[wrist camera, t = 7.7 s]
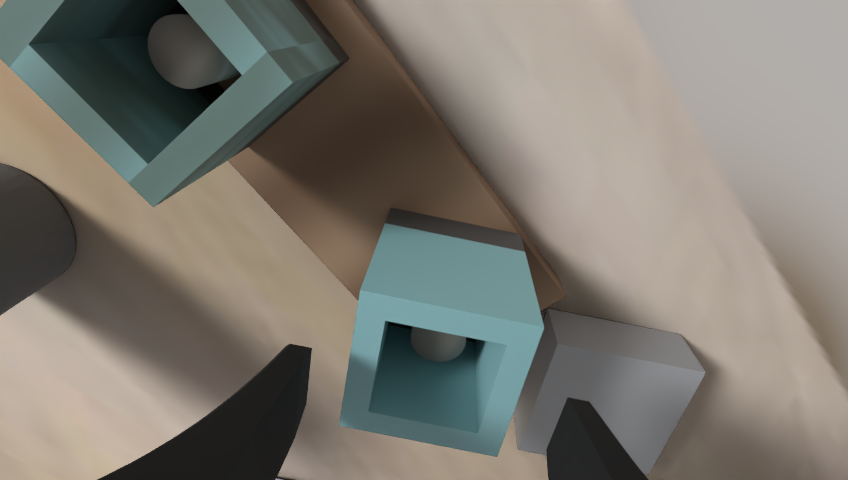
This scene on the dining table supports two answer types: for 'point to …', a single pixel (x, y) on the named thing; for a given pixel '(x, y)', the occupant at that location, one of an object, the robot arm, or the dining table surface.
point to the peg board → (261, 117)
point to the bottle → (30, 237)
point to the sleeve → (445, 312)
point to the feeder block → (608, 382)
